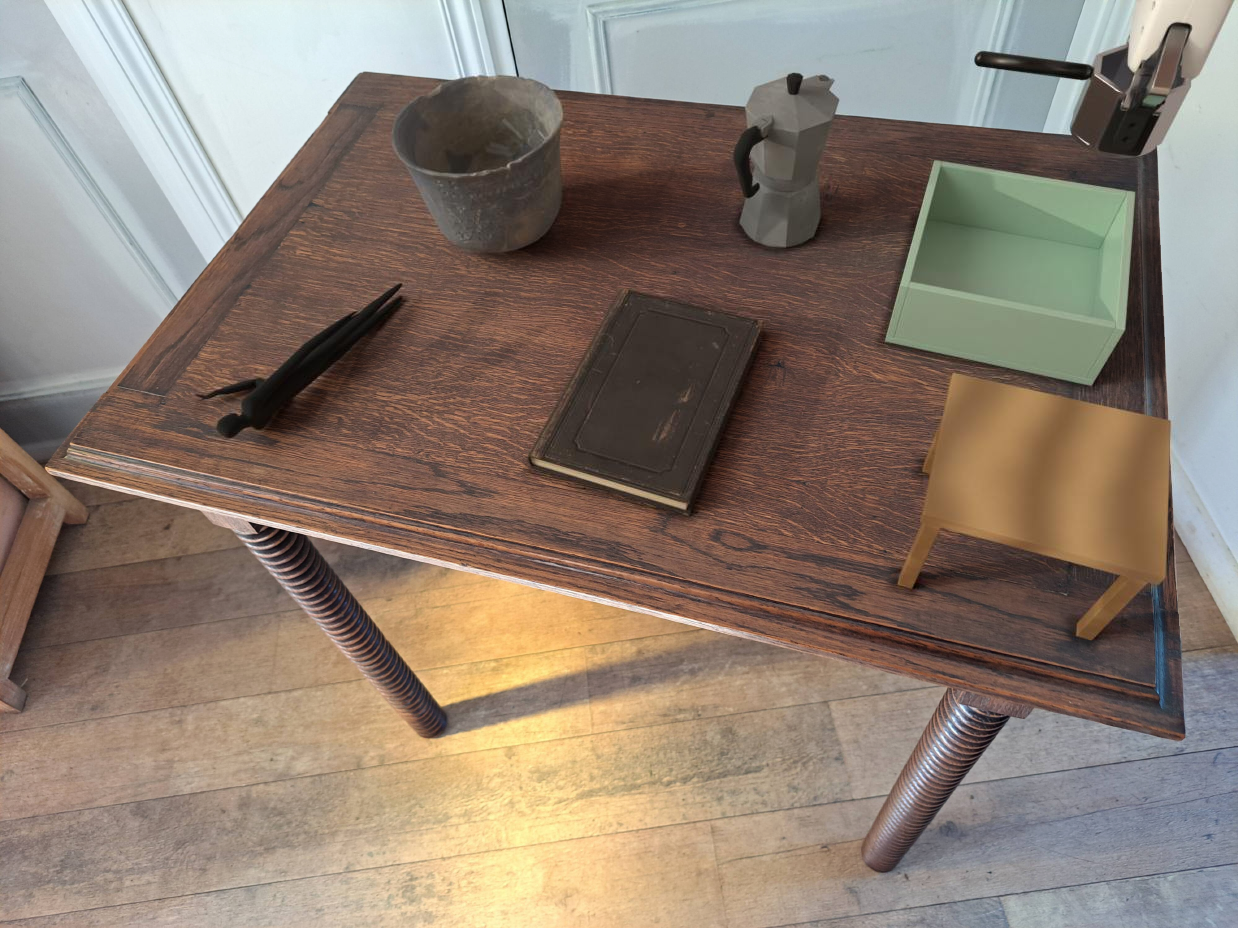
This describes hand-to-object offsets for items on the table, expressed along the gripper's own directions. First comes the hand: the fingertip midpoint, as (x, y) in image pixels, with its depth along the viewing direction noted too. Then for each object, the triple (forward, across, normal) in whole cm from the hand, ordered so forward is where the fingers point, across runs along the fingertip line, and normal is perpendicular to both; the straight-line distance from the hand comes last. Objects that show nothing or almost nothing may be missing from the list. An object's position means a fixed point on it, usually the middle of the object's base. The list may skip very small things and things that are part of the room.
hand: (1121, 122), depth 71 cm
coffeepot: (+21, +4, +29) cm, 36 cm away
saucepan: (+1, 0, +5) cm, 5 cm away
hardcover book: (+21, -24, +34) cm, 47 cm away
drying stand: (+21, -30, 0) cm, 37 cm away
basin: (+21, 0, +4) cm, 21 cm away
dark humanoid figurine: (+21, -30, +71) cm, 80 cm away
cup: (+21, -6, +59) cm, 63 cm away
